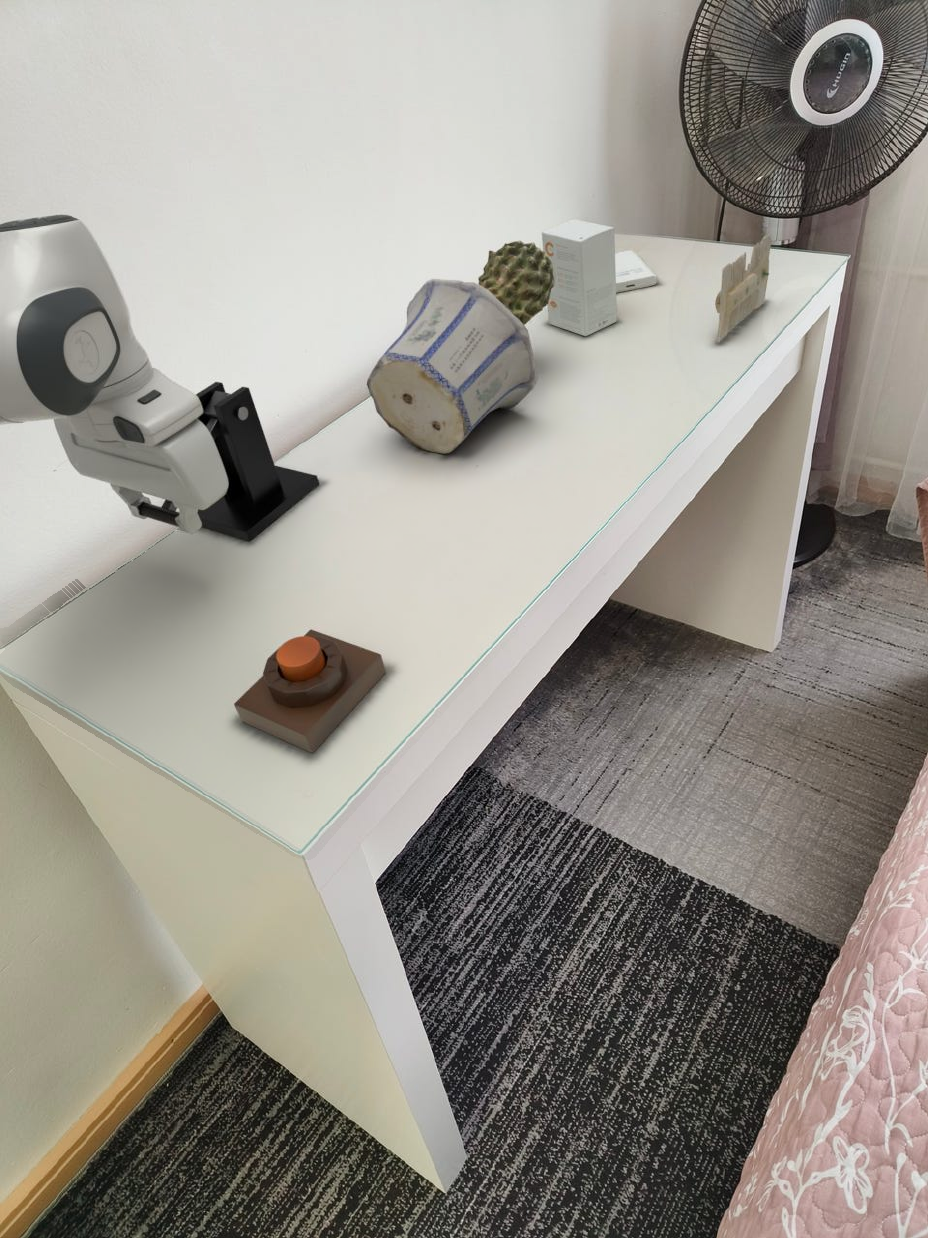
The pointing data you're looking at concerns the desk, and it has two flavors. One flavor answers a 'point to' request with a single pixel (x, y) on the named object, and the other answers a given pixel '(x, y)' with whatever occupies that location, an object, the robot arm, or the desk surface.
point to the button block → (311, 694)
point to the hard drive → (632, 272)
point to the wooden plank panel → (743, 287)
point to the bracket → (248, 470)
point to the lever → (168, 509)
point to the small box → (581, 276)
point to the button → (300, 658)
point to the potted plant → (463, 350)
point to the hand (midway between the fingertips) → (168, 522)
